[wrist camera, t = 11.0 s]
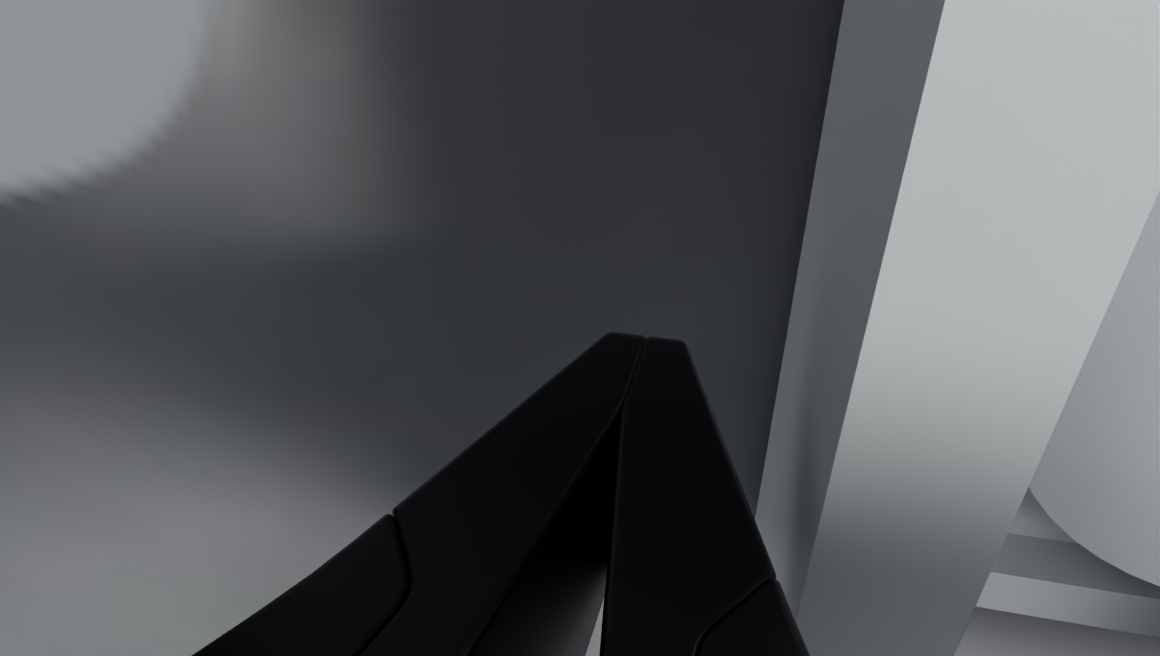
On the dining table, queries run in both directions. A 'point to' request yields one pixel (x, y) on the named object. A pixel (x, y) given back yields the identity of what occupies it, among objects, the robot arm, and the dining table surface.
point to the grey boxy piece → (956, 316)
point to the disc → (1114, 427)
